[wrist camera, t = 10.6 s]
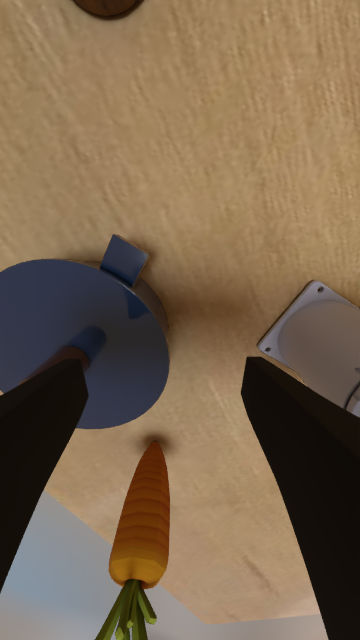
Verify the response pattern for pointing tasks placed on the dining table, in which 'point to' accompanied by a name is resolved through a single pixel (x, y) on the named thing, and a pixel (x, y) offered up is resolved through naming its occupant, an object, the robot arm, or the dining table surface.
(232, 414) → the dining table surface
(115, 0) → the mortar and pestle
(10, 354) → the lid
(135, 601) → the carrot
